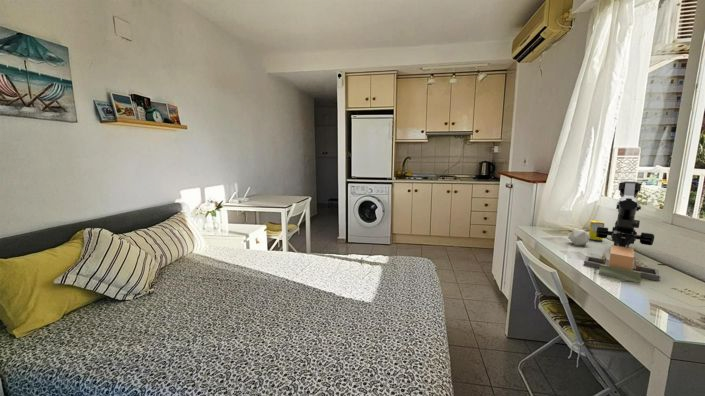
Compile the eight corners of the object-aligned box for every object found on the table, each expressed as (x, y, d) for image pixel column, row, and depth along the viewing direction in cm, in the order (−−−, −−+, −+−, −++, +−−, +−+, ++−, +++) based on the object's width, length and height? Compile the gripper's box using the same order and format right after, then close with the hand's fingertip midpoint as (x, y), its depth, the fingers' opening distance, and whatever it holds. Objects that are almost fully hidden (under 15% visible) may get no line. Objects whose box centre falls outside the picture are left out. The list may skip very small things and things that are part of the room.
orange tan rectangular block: (609, 264, 128) (611, 244, 127) (630, 268, 124) (633, 248, 122) (607, 273, 118) (610, 253, 116) (630, 279, 113) (634, 257, 111)
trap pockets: (585, 259, 133) (586, 255, 133) (657, 274, 117) (658, 269, 117) (583, 265, 126) (584, 260, 126) (659, 281, 111) (659, 276, 110)
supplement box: (601, 239, 166) (604, 221, 164) (602, 241, 161) (604, 223, 159) (588, 237, 169) (590, 219, 167) (588, 239, 164) (591, 221, 163)
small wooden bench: (602, 257, 137) (603, 249, 136) (637, 263, 128) (639, 255, 128) (598, 273, 117) (600, 264, 117) (639, 282, 109) (641, 272, 108)
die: (589, 249, 150) (596, 233, 152) (574, 240, 151) (581, 224, 153) (577, 249, 158) (583, 234, 160) (562, 241, 159) (569, 226, 161)
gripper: (599, 209, 133) (594, 237, 127) (657, 215, 120) (655, 246, 114) (598, 223, 140) (593, 250, 133) (653, 230, 127) (650, 260, 121)
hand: (621, 251), depth 125 cm, fingers closed
